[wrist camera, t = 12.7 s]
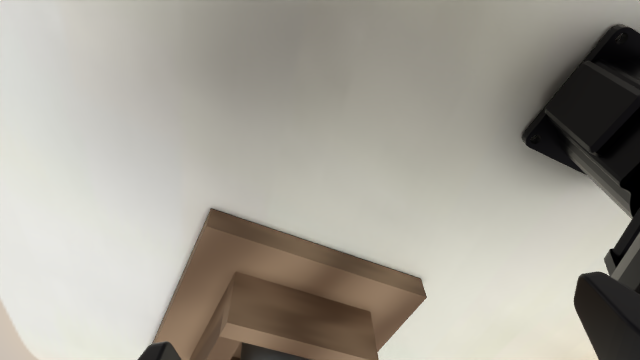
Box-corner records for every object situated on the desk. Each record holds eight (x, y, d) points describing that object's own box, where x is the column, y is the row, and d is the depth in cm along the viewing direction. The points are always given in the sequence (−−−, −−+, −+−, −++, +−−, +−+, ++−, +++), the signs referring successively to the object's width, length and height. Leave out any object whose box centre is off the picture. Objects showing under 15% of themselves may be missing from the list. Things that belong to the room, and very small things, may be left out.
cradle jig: (421, 279, 28) (442, 347, 23) (324, 390, 34) (328, 459, 30) (210, 208, 24) (192, 275, 20) (149, 350, 31) (126, 421, 26)
